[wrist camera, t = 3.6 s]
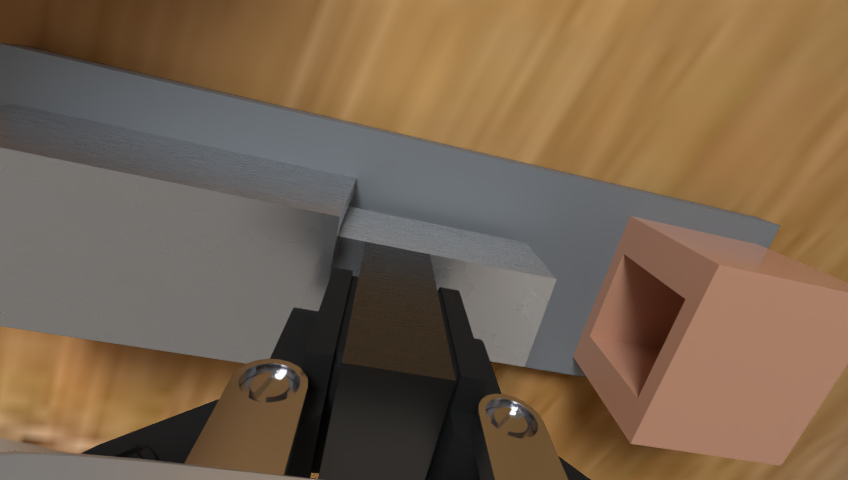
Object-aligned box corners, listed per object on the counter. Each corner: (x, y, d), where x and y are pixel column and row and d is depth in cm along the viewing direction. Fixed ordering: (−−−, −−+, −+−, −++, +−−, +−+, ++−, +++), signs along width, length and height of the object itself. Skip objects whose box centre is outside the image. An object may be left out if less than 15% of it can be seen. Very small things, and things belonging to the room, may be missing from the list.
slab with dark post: (92, 243, 16) (-292, 441, 7) (90, 152, 15) (-367, 250, 6) (501, 317, 18) (604, 540, 9) (526, 242, 17) (669, 414, 8)
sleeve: (24, 241, 17) (-131, 306, 12) (15, 104, 15) (-172, 112, 10) (334, 296, 18) (311, 373, 13) (356, 178, 16) (339, 216, 12)
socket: (572, 356, 20) (630, 443, 15) (630, 215, 18) (719, 264, 13) (690, 376, 21) (781, 465, 16) (758, 244, 19) (888, 301, 14)
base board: (37, 270, 18) (14, 282, 17) (23, 45, 15) (-6, 42, 14) (675, 379, 22) (690, 394, 21) (758, 217, 19) (780, 225, 18)
